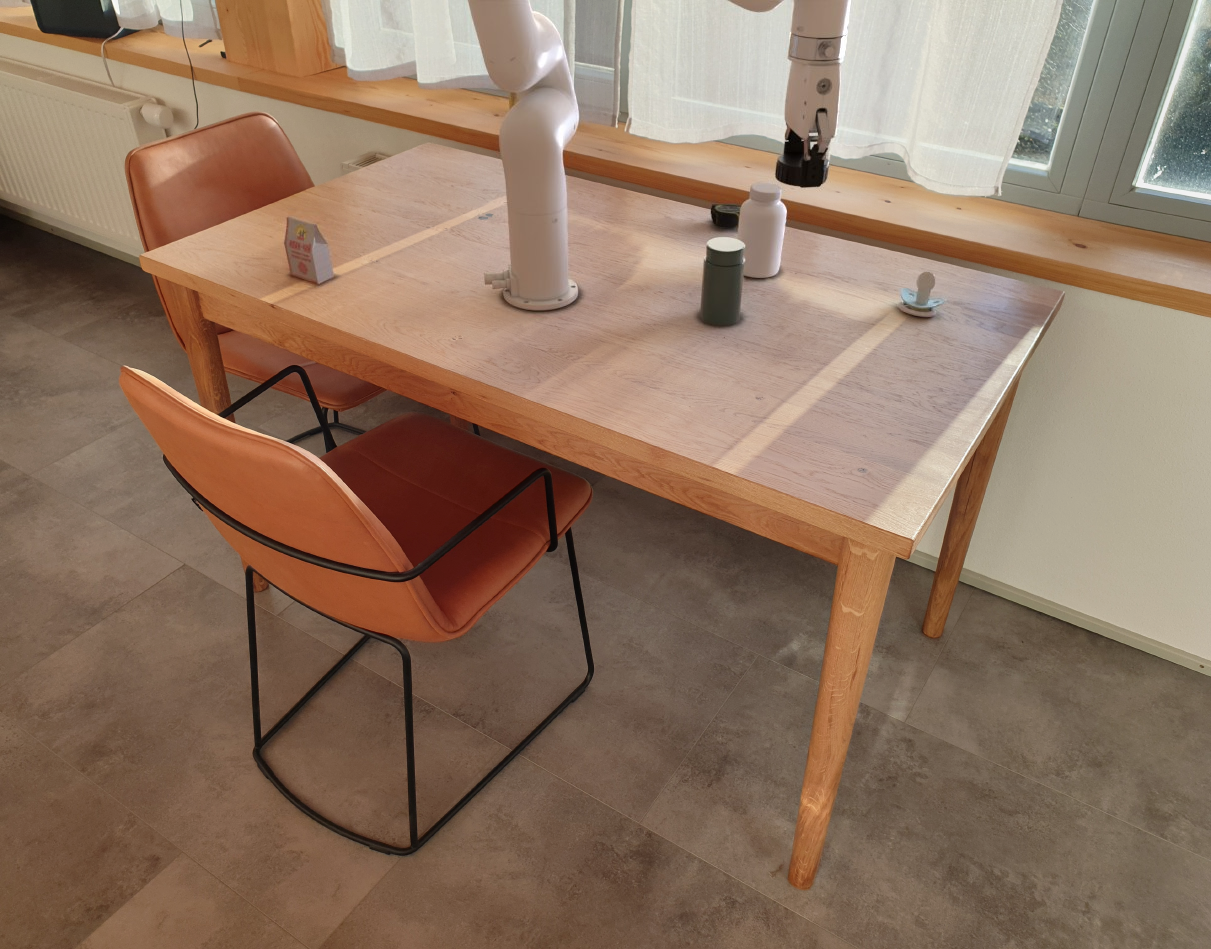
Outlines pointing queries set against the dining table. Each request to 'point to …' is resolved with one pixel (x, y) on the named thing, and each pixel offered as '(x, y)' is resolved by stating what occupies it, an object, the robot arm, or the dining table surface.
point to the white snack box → (307, 252)
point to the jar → (722, 281)
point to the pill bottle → (762, 229)
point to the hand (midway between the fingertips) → (801, 176)
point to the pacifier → (920, 297)
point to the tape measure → (726, 215)
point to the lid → (794, 168)
